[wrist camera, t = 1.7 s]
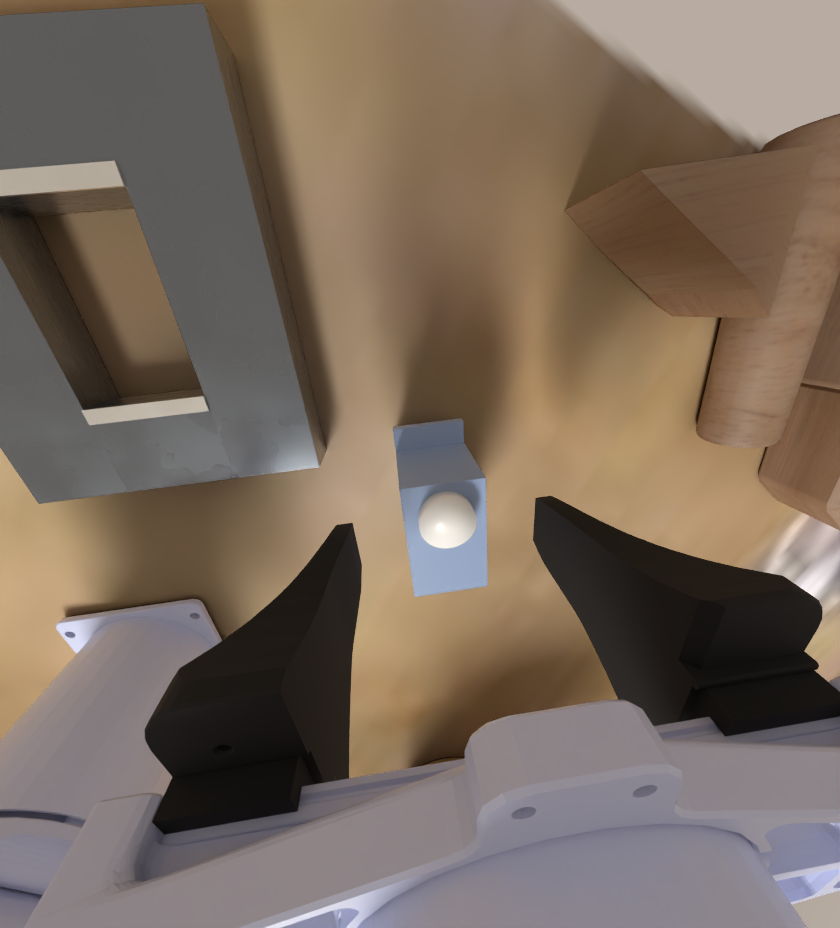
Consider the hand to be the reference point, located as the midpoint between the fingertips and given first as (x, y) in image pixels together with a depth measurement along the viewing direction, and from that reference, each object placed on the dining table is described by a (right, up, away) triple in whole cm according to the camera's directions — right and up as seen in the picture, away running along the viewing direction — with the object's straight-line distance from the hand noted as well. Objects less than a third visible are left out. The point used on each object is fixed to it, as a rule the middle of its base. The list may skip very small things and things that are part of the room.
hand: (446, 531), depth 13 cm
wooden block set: (+14, +8, +5) cm, 17 cm away
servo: (-1, +2, +5) cm, 5 cm away
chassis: (-12, +9, 0) cm, 15 cm away
